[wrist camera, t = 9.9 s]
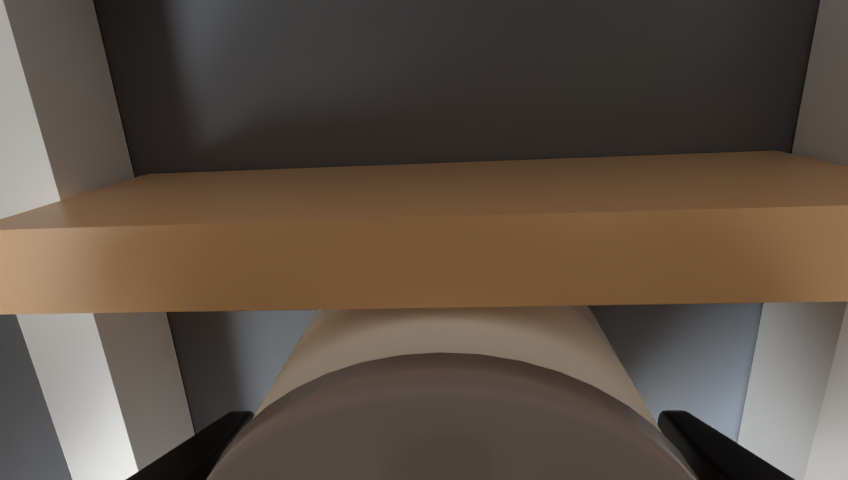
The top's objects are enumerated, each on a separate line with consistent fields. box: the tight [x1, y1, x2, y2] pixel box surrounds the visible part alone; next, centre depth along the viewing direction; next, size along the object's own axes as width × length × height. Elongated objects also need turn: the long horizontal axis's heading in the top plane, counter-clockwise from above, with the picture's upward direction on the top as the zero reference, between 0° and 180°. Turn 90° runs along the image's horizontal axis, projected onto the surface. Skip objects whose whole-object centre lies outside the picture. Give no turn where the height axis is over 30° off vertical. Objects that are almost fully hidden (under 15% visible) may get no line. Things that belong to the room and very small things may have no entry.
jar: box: [206, 305, 699, 480], centre depth 9 cm, size 7×7×6 cm
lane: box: [0, 0, 848, 480], centre depth 9 cm, size 16×22×4 cm
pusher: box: [0, 151, 848, 315], centre depth 8 cm, size 12×1×4 cm, turn 93°
